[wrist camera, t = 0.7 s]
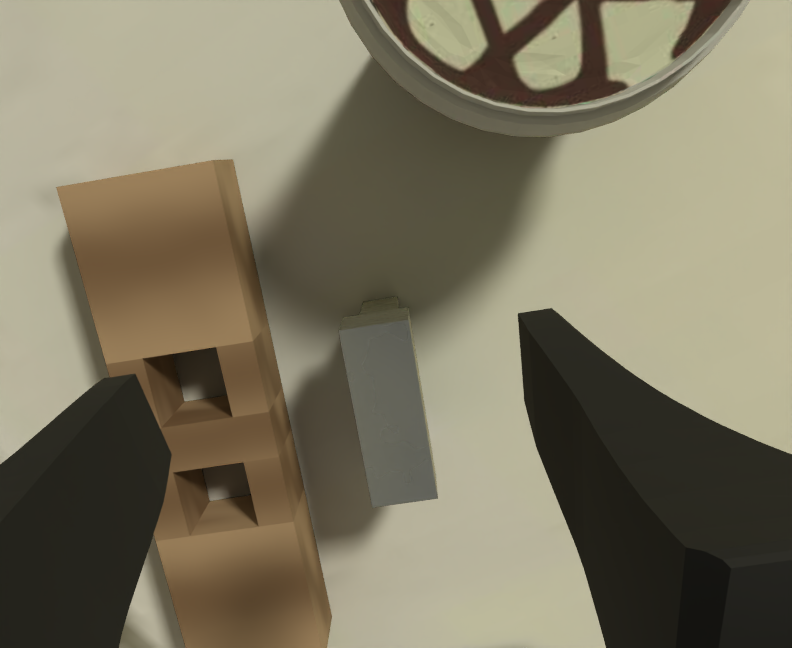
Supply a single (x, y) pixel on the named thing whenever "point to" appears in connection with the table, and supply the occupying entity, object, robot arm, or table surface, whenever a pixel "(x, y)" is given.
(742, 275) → the table surface
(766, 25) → the table surface
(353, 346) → the grey block
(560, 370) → the robot arm
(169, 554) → the brown slotted holder
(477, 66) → the food container
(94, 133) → the table surface
